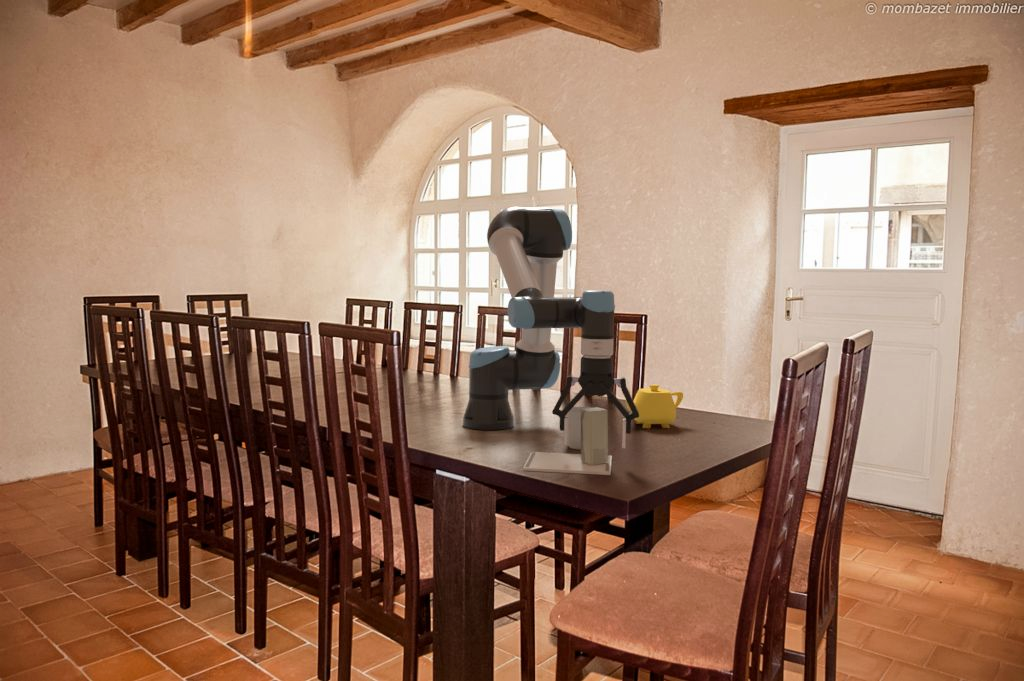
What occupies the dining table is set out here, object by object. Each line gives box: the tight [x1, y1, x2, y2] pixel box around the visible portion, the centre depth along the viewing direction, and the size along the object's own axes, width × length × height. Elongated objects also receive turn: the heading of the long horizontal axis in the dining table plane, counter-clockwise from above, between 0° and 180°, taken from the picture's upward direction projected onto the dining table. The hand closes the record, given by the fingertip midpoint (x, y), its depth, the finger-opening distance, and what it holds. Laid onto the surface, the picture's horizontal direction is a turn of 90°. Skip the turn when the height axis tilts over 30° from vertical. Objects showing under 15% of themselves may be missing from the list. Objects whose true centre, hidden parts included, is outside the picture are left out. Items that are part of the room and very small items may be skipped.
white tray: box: [522, 451, 613, 476], centre depth 177 cm, size 16×20×1 cm
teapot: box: [625, 383, 684, 429], centre depth 225 cm, size 13×20×12 cm
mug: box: [565, 406, 592, 451], centre depth 196 cm, size 13×9×10 cm
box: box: [580, 406, 609, 465], centre depth 176 cm, size 5×4×13 cm
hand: (594, 445), depth 176 cm, fingers open, 13 cm apart
